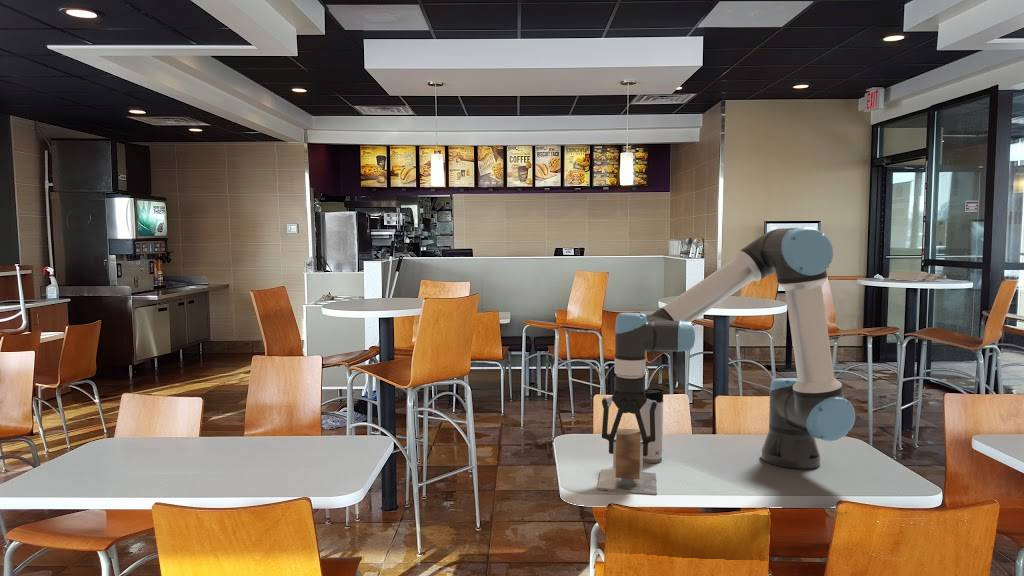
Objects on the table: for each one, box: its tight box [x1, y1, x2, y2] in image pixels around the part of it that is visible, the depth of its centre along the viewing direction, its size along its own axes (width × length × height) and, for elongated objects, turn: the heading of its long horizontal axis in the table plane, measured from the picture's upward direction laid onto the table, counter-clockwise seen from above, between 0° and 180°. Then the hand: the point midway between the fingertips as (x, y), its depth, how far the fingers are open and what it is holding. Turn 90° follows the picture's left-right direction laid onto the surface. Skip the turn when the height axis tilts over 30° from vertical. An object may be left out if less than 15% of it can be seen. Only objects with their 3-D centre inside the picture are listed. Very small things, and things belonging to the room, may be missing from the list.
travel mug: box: [640, 387, 666, 464], centre depth 185 cm, size 6×7×20 cm
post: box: [596, 468, 658, 495], centre depth 167 cm, size 14×14×8 cm
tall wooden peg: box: [615, 427, 641, 480], centre depth 167 cm, size 6×6×11 cm
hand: (627, 467), depth 167 cm, fingers closed on tall wooden peg, 6 cm apart
